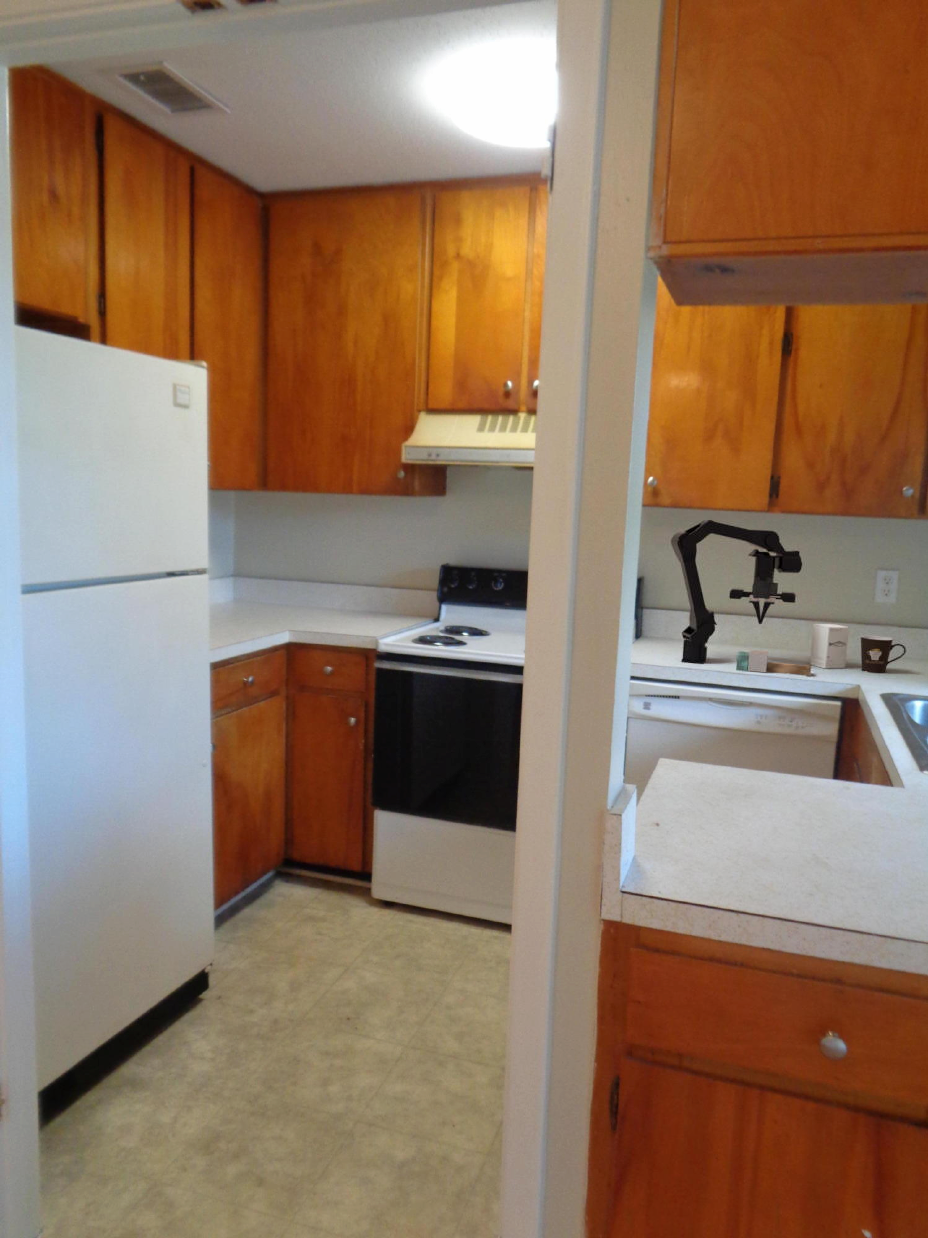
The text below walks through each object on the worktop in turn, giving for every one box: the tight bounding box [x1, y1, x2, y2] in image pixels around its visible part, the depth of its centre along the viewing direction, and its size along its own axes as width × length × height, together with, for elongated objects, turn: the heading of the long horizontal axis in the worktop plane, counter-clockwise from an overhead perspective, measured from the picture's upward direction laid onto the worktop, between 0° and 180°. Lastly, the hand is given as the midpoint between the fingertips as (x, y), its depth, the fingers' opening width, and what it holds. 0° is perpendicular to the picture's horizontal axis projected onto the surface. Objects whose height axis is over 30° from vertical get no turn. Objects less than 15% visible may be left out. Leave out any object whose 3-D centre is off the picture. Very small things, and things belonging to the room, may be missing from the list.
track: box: [735, 650, 812, 677], centre depth 258 cm, size 20×7×4 cm, turn 69°
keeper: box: [747, 649, 769, 673], centre depth 259 cm, size 5×7×5 cm
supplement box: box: [809, 623, 850, 669], centre depth 270 cm, size 7×7×13 cm
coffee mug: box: [860, 635, 907, 674], centre depth 263 cm, size 12×9×10 cm
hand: (760, 623), depth 270 cm, fingers closed
